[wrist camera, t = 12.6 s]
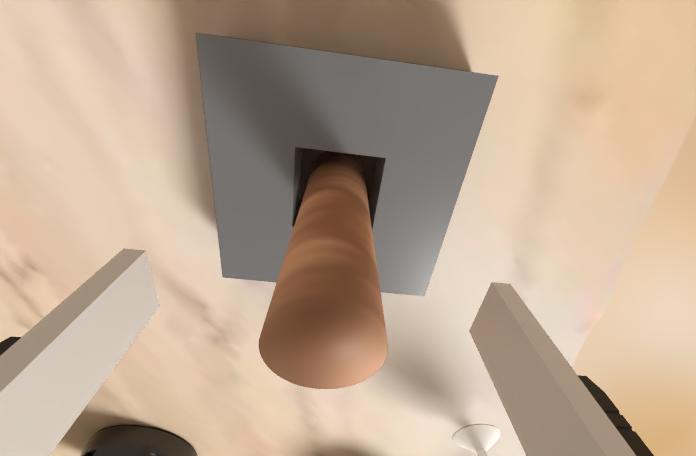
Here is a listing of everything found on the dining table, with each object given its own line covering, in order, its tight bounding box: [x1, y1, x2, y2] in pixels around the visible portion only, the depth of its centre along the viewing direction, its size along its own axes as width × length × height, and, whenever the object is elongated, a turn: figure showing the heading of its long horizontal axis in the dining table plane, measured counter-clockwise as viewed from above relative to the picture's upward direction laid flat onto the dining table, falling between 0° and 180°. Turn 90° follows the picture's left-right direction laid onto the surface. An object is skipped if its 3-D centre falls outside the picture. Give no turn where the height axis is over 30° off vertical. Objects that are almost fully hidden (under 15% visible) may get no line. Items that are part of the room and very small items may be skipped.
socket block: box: [196, 33, 498, 296], centre depth 21 cm, size 16×16×4 cm
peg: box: [259, 151, 388, 389], centre depth 16 cm, size 4×4×16 cm
